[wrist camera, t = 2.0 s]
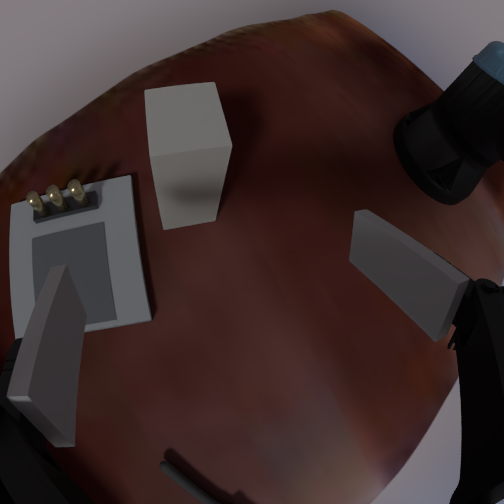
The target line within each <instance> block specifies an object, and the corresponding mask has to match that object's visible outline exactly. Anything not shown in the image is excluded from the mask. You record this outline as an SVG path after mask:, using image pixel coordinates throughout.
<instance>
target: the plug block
mask: <svg viewBox="0 0 504 504" xmlns="http://www.w3.org/2000/svg"><path fill="white" fill-rule="evenodd" d="M145 106H146V120H147V132H148V143H149V153H150V161H151V167H152V172H153V178H154V184H155V189H156V195H157V200H158V205H159V210H160V215H161V220H162V225H163V229H164V230H167V229H172V228H178V227H183V226H189V225H194V224H200V223H206V222H211V221H215V220H216V216H217V211H218V206H219V202H220V197H221V193H222V188H223V184H224V179H225V175H226V171H227V166H228V162H229V158H230V154H231V149H232V142H231V139H230V135H229V132H228V128H227V124H226V121H225V117H224V114H223V110H222V107H221V103H220V99H219V96H218V92H217V89H216V85H215V82H210V83H198V84H188V85H179V86H170V87H163V88H156V89H149V90H145Z"/></svg>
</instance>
